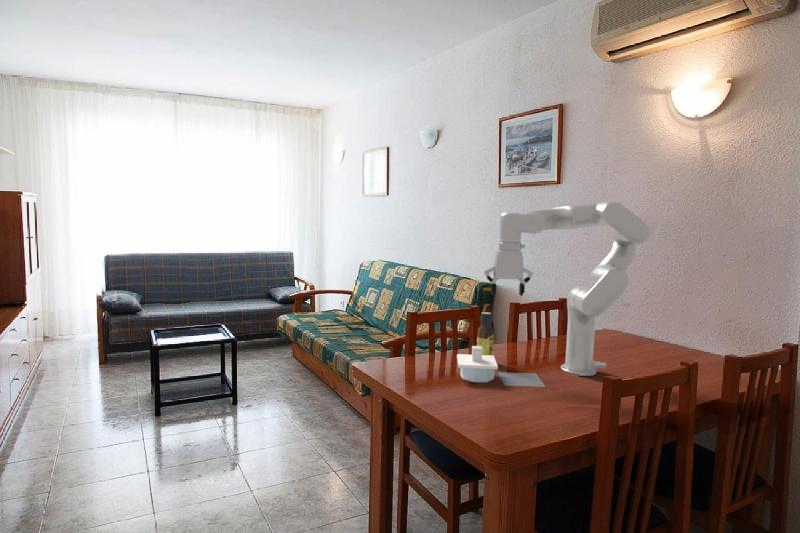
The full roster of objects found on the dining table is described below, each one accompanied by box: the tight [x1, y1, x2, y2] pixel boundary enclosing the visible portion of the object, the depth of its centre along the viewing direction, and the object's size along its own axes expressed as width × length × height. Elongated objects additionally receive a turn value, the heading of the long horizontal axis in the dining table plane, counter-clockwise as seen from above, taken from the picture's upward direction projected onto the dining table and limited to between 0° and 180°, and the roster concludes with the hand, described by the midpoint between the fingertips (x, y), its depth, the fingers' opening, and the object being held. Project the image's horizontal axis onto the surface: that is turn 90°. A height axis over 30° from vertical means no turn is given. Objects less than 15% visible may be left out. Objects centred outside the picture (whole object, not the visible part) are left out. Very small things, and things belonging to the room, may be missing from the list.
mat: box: [497, 371, 546, 388], centre depth 182 cm, size 14×14×1 cm
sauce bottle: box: [476, 311, 495, 356], centre depth 200 cm, size 7×6×20 cm
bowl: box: [459, 368, 495, 383], centre depth 183 cm, size 11×11×6 cm
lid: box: [456, 345, 499, 370], centre depth 182 cm, size 13×13×6 cm
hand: (507, 294), depth 190 cm, fingers open, 9 cm apart
